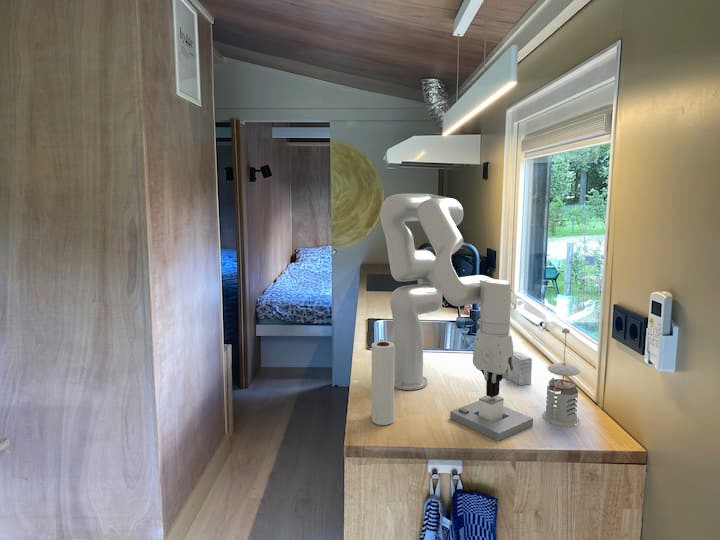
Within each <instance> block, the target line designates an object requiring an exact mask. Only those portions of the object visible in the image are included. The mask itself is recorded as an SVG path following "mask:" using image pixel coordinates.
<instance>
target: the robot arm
mask: <svg viewBox="0 0 720 540" xmlns="http://www.w3.org/2000/svg"><path fill="white" fill-rule="evenodd" d="M379 213H380V216H379V217H380V224H381V227H382V230H383V233H384V235H385V240H386V249H387V254H388V263H389V267H390V273H391V276H392V278H393V279H394V281H397V282H411V281H412V282H413V281H417V284H409V285H403V286H399V287H396V289H395V290H393V291H392V293H391V294H390V298H389V304H390V305H389V306H390V309H391V310H390V311H391V315H392V316H391V317H392V334H393V335H392V343H394V345H395V380H394V387H395V388H394V389H397V388H398V390H402V391H403V390H405V391H406V390H407V391H412V390H420V389H423V388H425V387H426V386H427V385H428V379H427V377H425V376H424V371H423V369H424V368H423V367H424V327H423V324H422V323H421V321H420V319H419V317H418V316H419V315H424V314H428V313H429V314H430V313H434V312H437V311H438V310H439V309H440V308H441V306H442V305H443V304H442V303H443V297H444V299H445V300H446V301H447V302H448V303H449V304H450V305H452V306H454V307H463V306H469V305H476V304H479V319H477V322H476V323H477V325H479V329H478V330H477V331H476V334H475V338H474V344H473V350H472V351H473V352H472V364H473V366H474V367H475V369H477V371H479V372H481V373H482V375H483V378H484V381H486V382H485V383H486V384H485V385H486V388H485V389H486V391H485V393H486V395H487V396H490V397H494V396H499V394H500V382H502V380H510V378H512V375H511V371H512V370H513V365H514V353H513V352H514V343H513V336H512V334H511V333H510V332H511V330H510V328H511V301H512V300H511V299H512V285H511V283H510V282H509V281H508V280H504V279H498V278H497V279H496V278H492V277H490V276H487V275H483V274H477V275H476V274H475V275H468V276H466V275H465V276H460V277H459V276H458V274H457V272H456V270H455V269H454V266H453V263H452V255H453V254H455V253H456V252H458V251H459V250H460V249H461V247H462V246H463V244H464V237H463V236H462V234H461V232H460V230H459V229H458V228H457V226H459V225H460V224H461V223H462V222H463V219H464V208H463V207H462V204H461V203H460V202H459V201H458V200H457V199H455V198H451V197H446V196H441V195H437V194H431V193H396V194H392V195H389V196H388V197H386V199H385V200H384V201H383V202H382V205H381V207H380V212H379ZM406 222H419V224H420V225H421V228H422V230H423V231H424V233H425V235H426V237H427V239H428V241H429V243H430V244H431V247H432V248H433V250H434V252H435V254H434V253H433V252H431V251H429V250H427V249H416V246H415V241H414V240H415V239H414V235H413V233H412V231H411V230H410V228H409V227H408V226H407V225H406ZM486 395H485V396H486Z"/></svg>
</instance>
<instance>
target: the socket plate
mask: <svg viewBox="0 0 720 540" xmlns="http://www.w3.org/2000/svg"><path fill="white" fill-rule="evenodd" d="M449 414H450V415H449V416H450V417H449V418H450V419H451V420H453V421H455V422H457V423H459V424H462V425H464V426H466V427H468V428H469V429H472V430H474V431H476V432H477V433H478V432H479V433H481V434H483V435H484V436H487V437H489V438H491V439H493V440H495V441H497V442H500V441H502V440H504V439H507V438H508V437H511V436H513V435H515V434H517V433H520V432H522V431H524V430H526V429H528V428H531V427H533V425H534V418H533V417H531V416H529V415H527V414H523V413H521V412H518V411H517V410H513V409H511V408H509V407H506V406H504V405H503V419H502V420H499V421H497V422H494V423H493V422H491V421H489V420H487V419H484V418H482V417H480V416H479V400H476V401H474V402H471V403H469V404H466V405H464V406H461V407H458V408H455V409H453V410H450V413H449Z"/></svg>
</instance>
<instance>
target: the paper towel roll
mask: <svg viewBox="0 0 720 540" xmlns="http://www.w3.org/2000/svg"><path fill="white" fill-rule="evenodd" d="M394 380H395V345H394V343H393V341H388V340H385V339H380V338H379V341H374V342H372V343H371V421H372V423H374V424H376V425H377V426H387V425H391V424H393V423H394V421H395V388H394Z"/></svg>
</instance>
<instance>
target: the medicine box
mask: <svg viewBox="0 0 720 540" xmlns="http://www.w3.org/2000/svg"><path fill="white" fill-rule="evenodd" d="M513 353H514V365H513V370H512V371H511V375H512V378H510V379H509V380H511V381H512V382H514V383H516V385H519V386H525V385H531V384H532V369H533V368H532V365H533V363H532V361H533V358H532V357H530V356H528V355H526V354H524V353H522V352H520V351H516V350H515V351H513Z"/></svg>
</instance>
